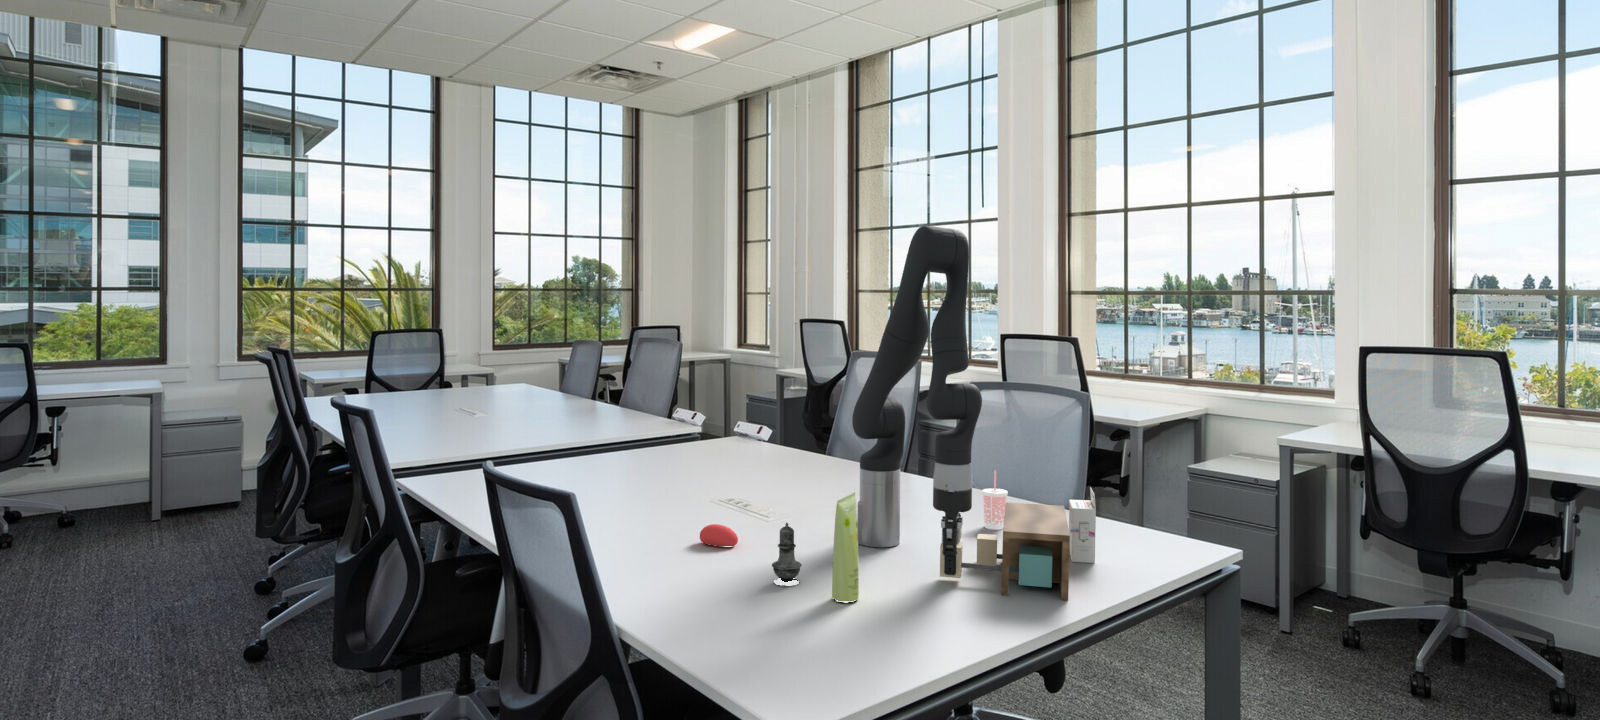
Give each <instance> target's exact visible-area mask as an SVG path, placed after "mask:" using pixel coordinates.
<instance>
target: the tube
mask: <svg viewBox="0 0 1600 720" xmlns="http://www.w3.org/2000/svg"><path fill="white" fill-rule="evenodd" d="M857 513H858V507H857V497H856V492H855V491H854V492H852V493H850V494H848V495H846V496H844V497H842V498H840V499H837V500H836V506H835V519H834V532H833V533H834V536H833V558H832V584H831V585H832V587H831V588H832V590H831V599H832V598H834V599H836V600H838V601H854V600H857V599H858V598H859V596H860V595H859V593H860V591H859V581H860V580H859V575H860V574H859V571H860V570H859V569H860V568H859V544H858V528H857ZM858 600H859V599H858ZM858 600H857V601H858Z"/></svg>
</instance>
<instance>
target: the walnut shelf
mask: <svg viewBox="0 0 1600 720" xmlns="http://www.w3.org/2000/svg"><path fill="white" fill-rule="evenodd" d="M1065 510H1066V508H1065V505H1056V504H1054V505H1053V504H1041V503H1040V504H1039V503H1038V504H1037V503H1020V502H1007V501H1006V503H1005V514H1004V525H1003V529H1002V552H1001V553H1002V559H1001V562H1002V563H1001V564H1002V565H1001V566H1002V571H1001V596H1009V582H1010V581H1009V580H1016V581H1017V580H1018V581H1019V572H1009V566H1011V567H1019V550H1020V545H1023V546H1036V547H1050V548H1051V549H1052V583H1055V584H1056V583H1057V584H1059V592H1060V600H1061V601H1069V587H1070V586H1069V585H1070V584H1069V583H1070V582H1069V581H1070V580H1069V579H1070V576H1069V575H1070V554H1069V548H1070V534H1069V523H1068V521H1067V520H1068V519H1067V514H1066V511H1065Z"/></svg>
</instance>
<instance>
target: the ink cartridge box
mask: <svg viewBox="0 0 1600 720" xmlns="http://www.w3.org/2000/svg"><path fill="white" fill-rule="evenodd" d="M1089 490H1090V491H1089V492H1090V500H1087V499H1068V506H1069V507H1068V510H1069V511H1068V512H1069V513H1068V529H1069V534H1070V548H1069V558H1070V560H1071V562H1072V563H1088V564H1089V563H1090V564H1096V563H1095V562H1096V530H1097V529H1096V527H1097V526H1096V523H1097V521H1096V520H1097V519H1096V518H1097V517H1096V516H1097V515H1096V514H1097V509H1096V508H1097V506H1096V496H1095V492H1094V491H1093V489H1092V487H1089Z"/></svg>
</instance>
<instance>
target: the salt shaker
mask: <svg viewBox="0 0 1600 720" xmlns="http://www.w3.org/2000/svg"><path fill="white" fill-rule="evenodd" d="M784 525H785V526H783V527H781V528H780V529H779V543H778V544H777V547H778V551H779V552H778V555H779V556H778V559H777V560H776V561H773V562H772V564H771V567H772V568H773V569H772V571H773V572H774V574H775V576H776V577H777V578H781V580H782V581H784V582H788V581H792V580H797V579H798V578H797V579H793V578H796V577H797V576H798V575H799V574H800V571H801V567H802V566H803V565H802V563H801V562H800V561H797V560H796V557H795V548H796V546H797V545H796V543H795V530H794V528H793V527H791V526H789V523H788V522H785V524H784ZM798 580H799V579H798ZM798 580H797V581H798Z"/></svg>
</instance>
